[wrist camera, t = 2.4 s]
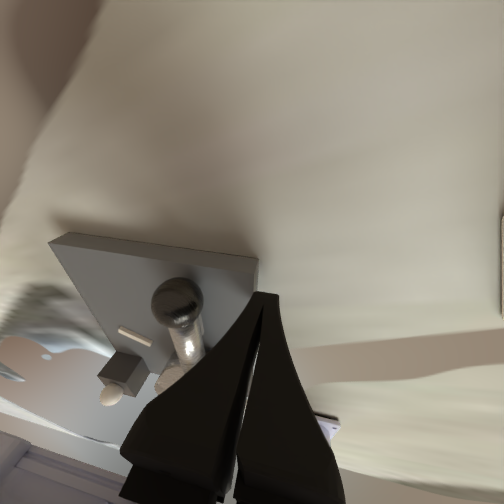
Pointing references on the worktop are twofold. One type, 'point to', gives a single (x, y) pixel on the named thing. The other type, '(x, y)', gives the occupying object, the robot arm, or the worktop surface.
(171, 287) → the silver metal piece
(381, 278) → the worktop surface
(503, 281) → the medicine bottle
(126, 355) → the dark grey block
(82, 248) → the slate board
